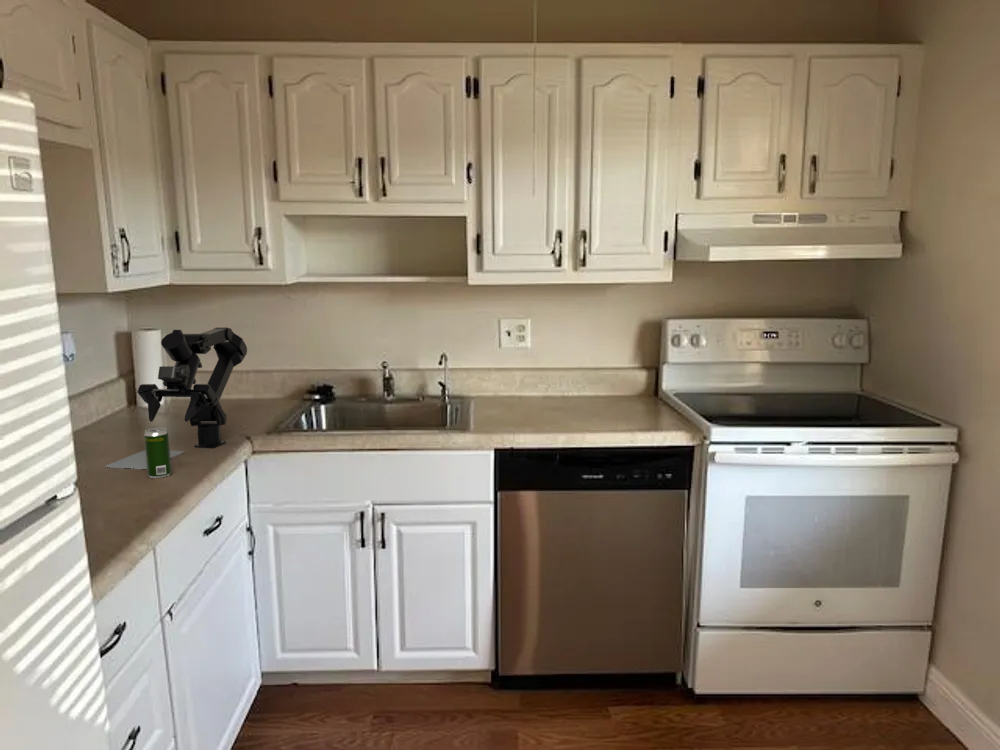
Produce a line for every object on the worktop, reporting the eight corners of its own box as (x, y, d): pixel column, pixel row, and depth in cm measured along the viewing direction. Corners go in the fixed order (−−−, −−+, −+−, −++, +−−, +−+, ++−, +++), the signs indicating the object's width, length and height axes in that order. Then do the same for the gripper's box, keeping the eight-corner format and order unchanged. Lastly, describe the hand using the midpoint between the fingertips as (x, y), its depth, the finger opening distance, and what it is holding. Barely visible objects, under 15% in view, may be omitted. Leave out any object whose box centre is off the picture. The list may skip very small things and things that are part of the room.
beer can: (175, 475, 175) (171, 429, 173) (152, 480, 171) (148, 433, 169) (166, 471, 179) (162, 426, 177) (144, 476, 175) (140, 429, 173)
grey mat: (147, 451, 198) (147, 449, 198) (184, 453, 196) (184, 451, 196) (105, 467, 182) (105, 465, 182) (146, 469, 180) (145, 467, 180)
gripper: (137, 353, 182) (117, 403, 173) (208, 353, 182) (192, 403, 173) (155, 378, 191) (137, 427, 182) (222, 378, 191) (208, 427, 182)
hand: (168, 420), depth 179 cm, fingers open, 9 cm apart
